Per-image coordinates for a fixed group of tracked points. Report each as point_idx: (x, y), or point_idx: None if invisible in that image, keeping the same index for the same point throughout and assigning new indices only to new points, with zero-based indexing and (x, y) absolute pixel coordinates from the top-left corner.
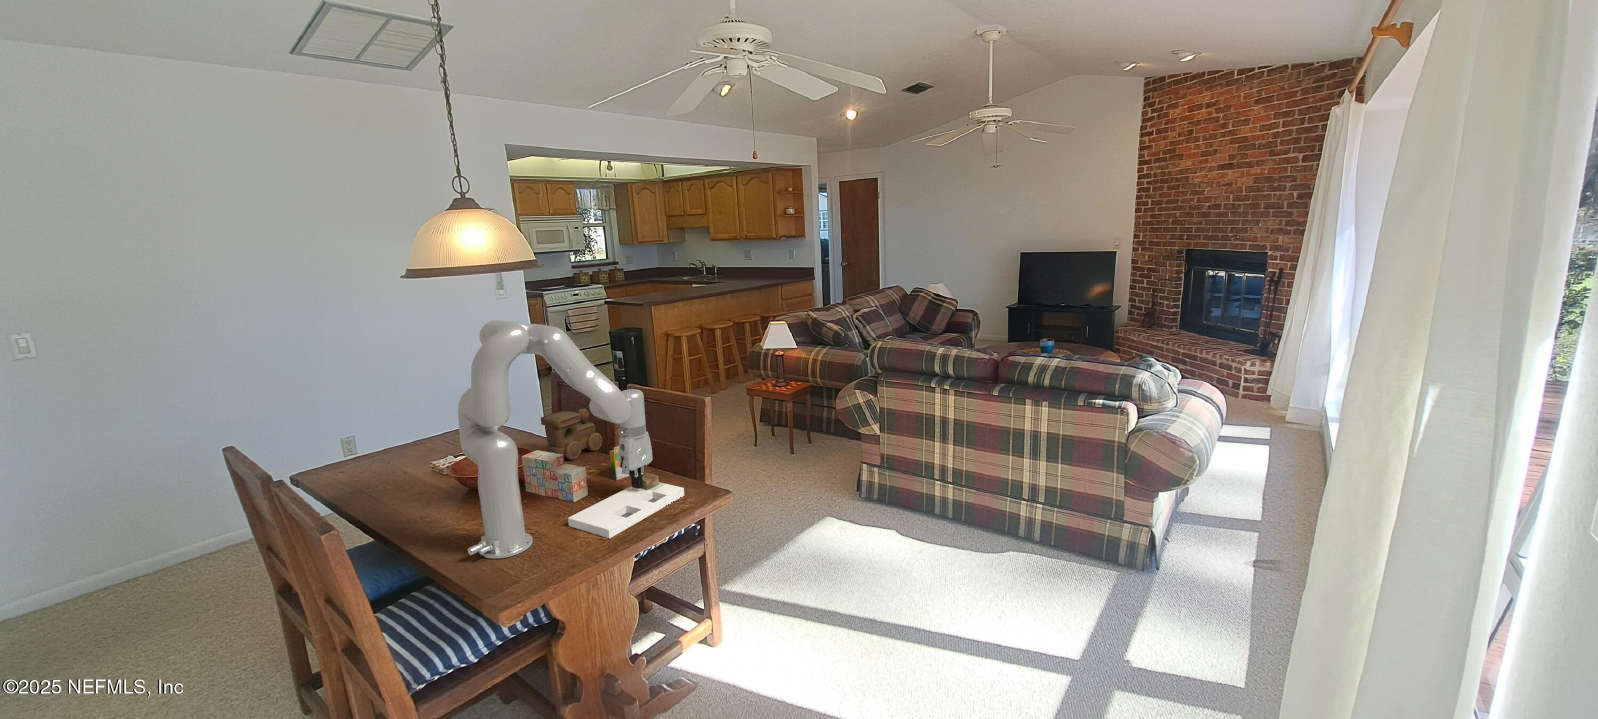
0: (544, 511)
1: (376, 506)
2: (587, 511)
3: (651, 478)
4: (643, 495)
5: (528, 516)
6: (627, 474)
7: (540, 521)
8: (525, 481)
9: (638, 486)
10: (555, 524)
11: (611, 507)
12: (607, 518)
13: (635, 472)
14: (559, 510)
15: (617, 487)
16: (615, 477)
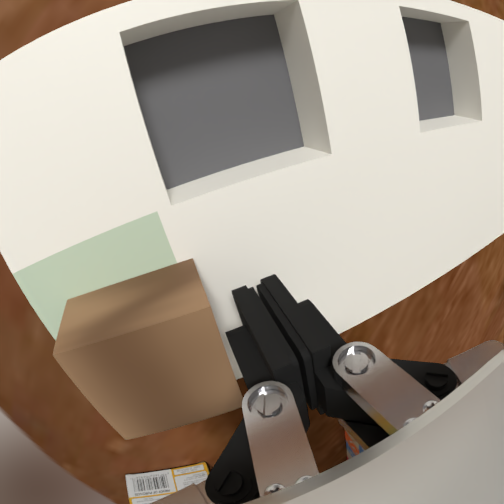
0: (452, 342)
1: None
2: (492, 220)
3: (133, 339)
4: (272, 182)
5: (473, 332)
6: (158, 477)
7: (487, 290)
8: None
9: (282, 288)
10: (494, 248)
11: (457, 177)
12: (498, 96)
13: (395, 378)
14: (443, 331)
15: (235, 422)
16: (209, 472)
